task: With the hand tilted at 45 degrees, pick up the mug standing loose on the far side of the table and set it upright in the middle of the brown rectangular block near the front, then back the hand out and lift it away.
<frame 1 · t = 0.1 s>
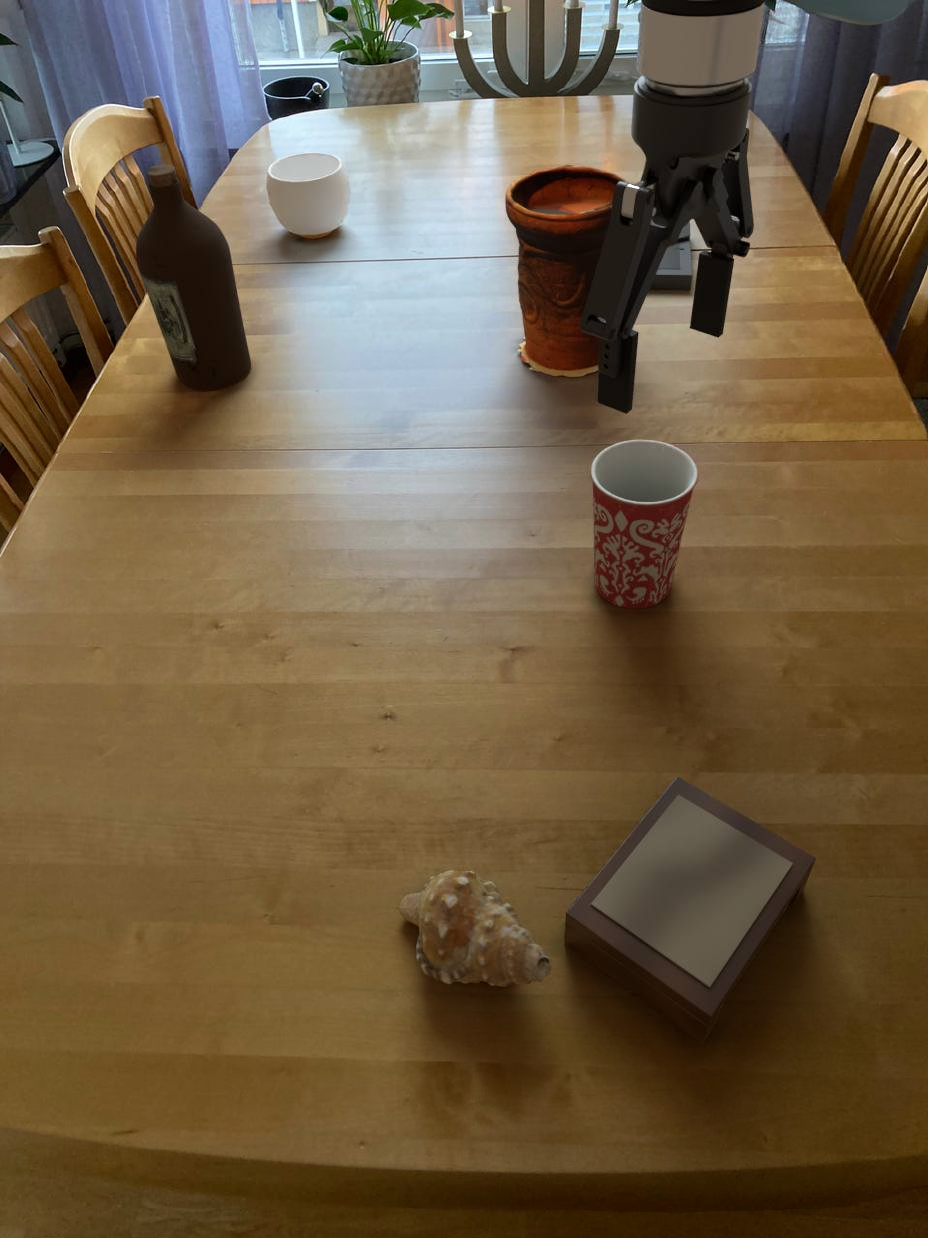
hand: (662, 367, 77), 22 cm above the table, tool pointing down, fingers open, 13 cm apart
cup: (315, 231, 150), on the table
mug: (639, 573, 93), on the table
vessel: (564, 349, 122), on the table
seashell: (477, 947, 68), on the table
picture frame: (614, 263, 138), on the table
olive oil: (214, 372, 123), on the table
brown rectangular block: (685, 916, 69), on the table
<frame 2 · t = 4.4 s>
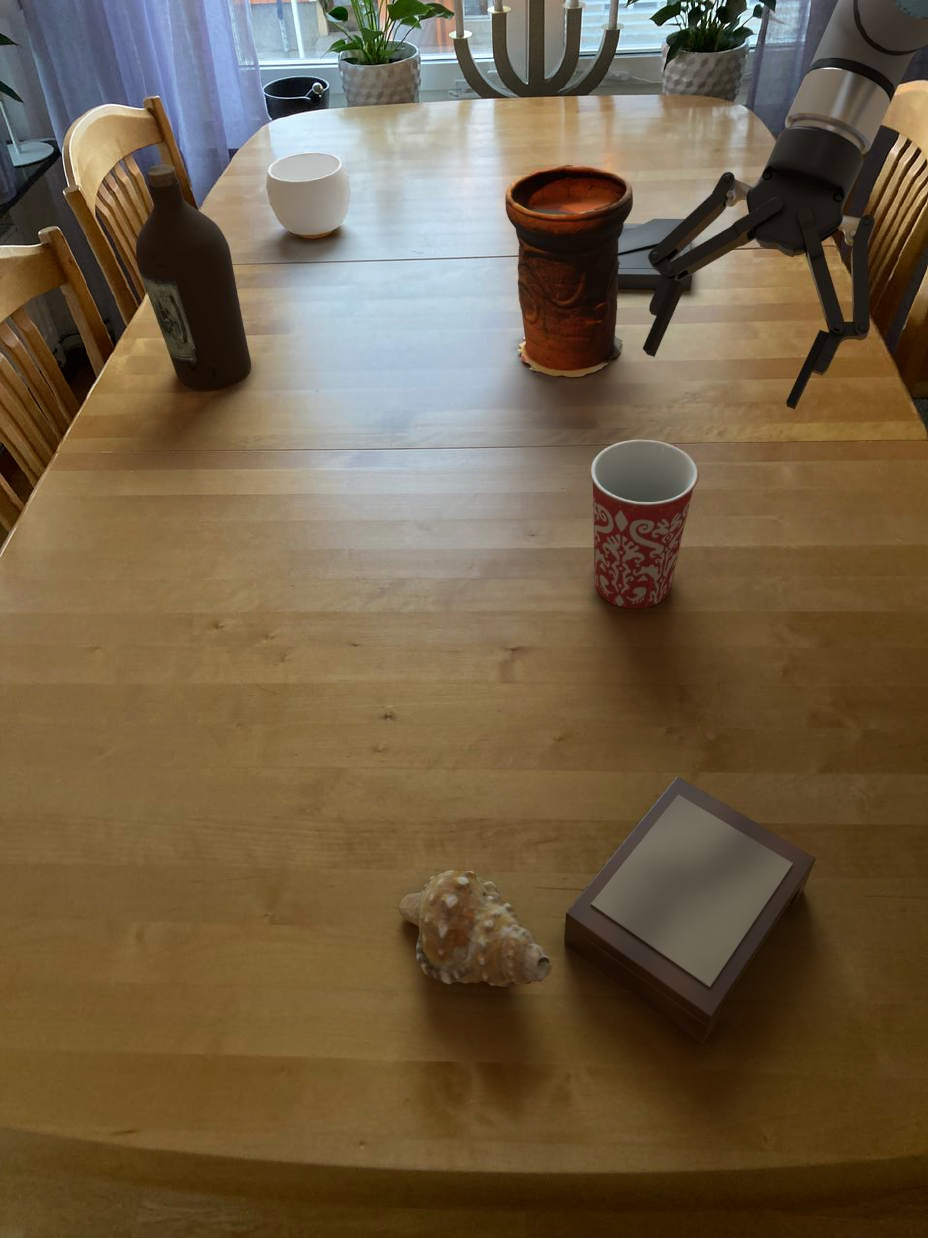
hand: (717, 379, 87), 16 cm above the table, tool tilted 40°, fingers open, 13 cm apart
nothing on the table moved.
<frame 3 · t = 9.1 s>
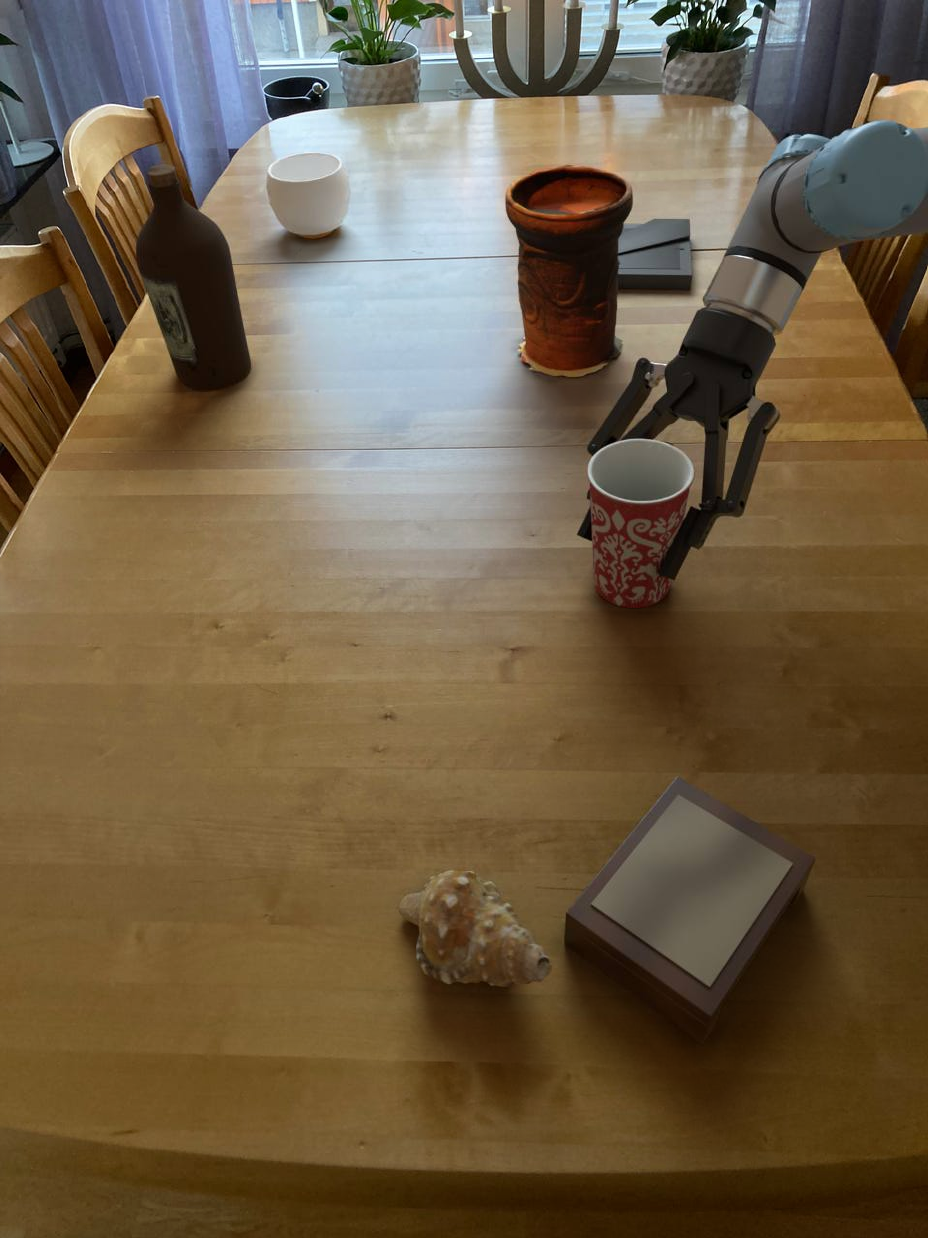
hand: (625, 557, 88), 4 cm above the table, tool tilted 45°, fingers closed on mug, 8 cm apart
mug: (639, 572, 93), on the table, touching gripper
everything else where it was.
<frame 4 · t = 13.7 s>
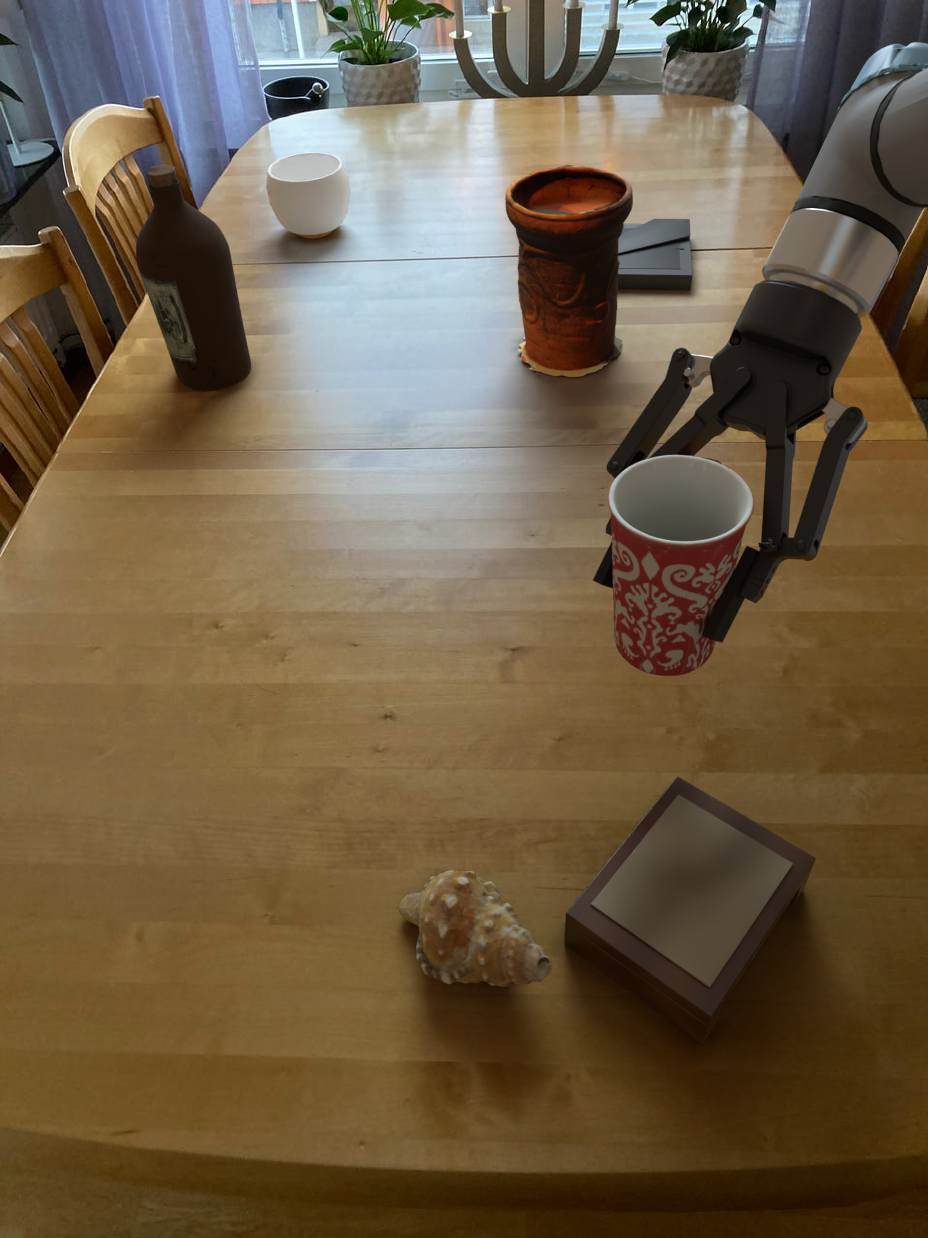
hand: (656, 610, 67), 16 cm above the table, tool tilted 45°, fingers closed on mug, 8 cm apart
mug: (672, 627, 72), point 12 cm above the table, touching gripper
everything else where it was.
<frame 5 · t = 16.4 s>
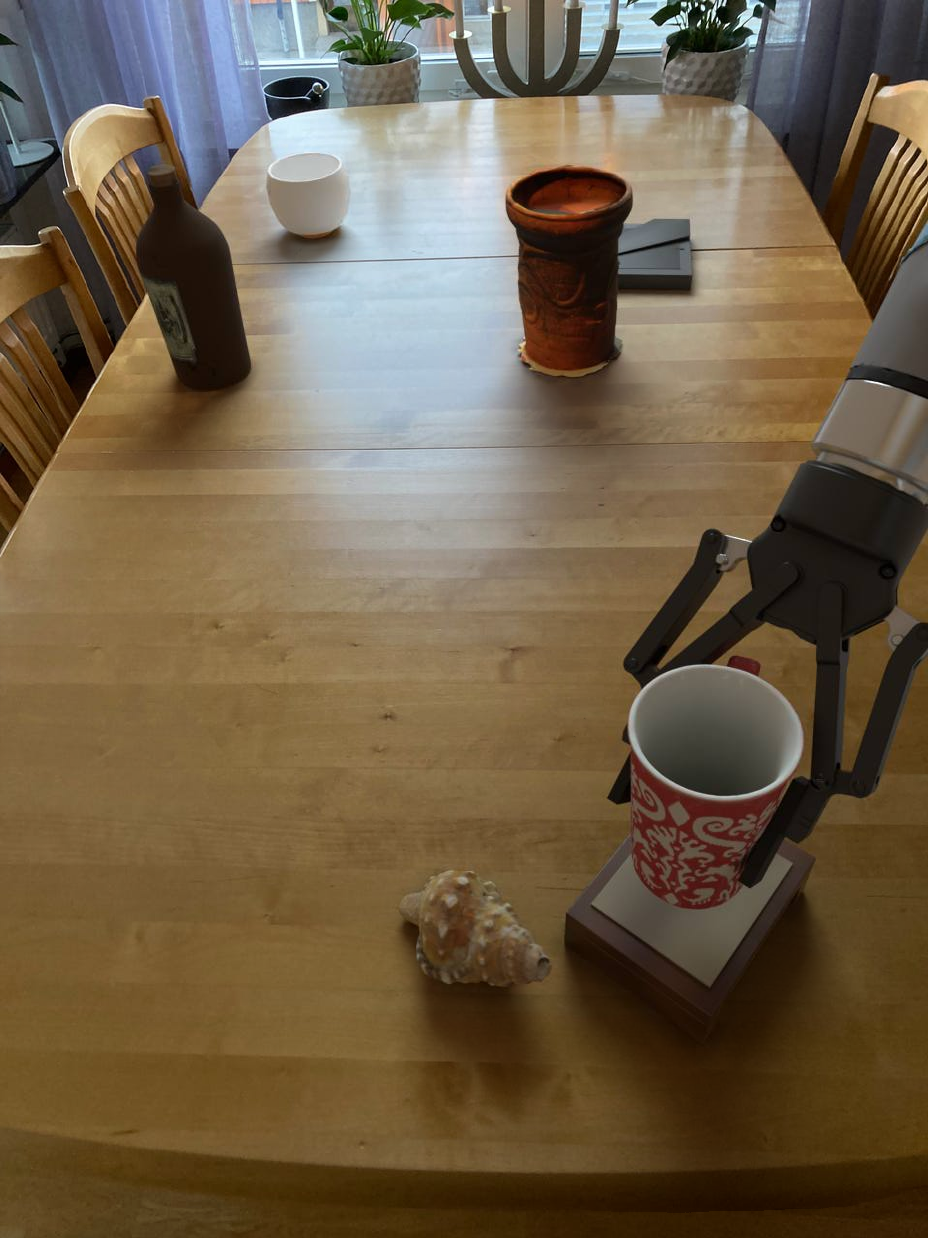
hand: (682, 838, 56), 15 cm above the table, tool tilted 45°, fingers closed on mug, 8 cm apart
mug: (699, 838, 62), point 10 cm above the table, touching gripper
everything else where it was.
when the fingers open (9 cm above the table, at t = 18.4 s): mug stays where it is, resting on brown rectangular block.
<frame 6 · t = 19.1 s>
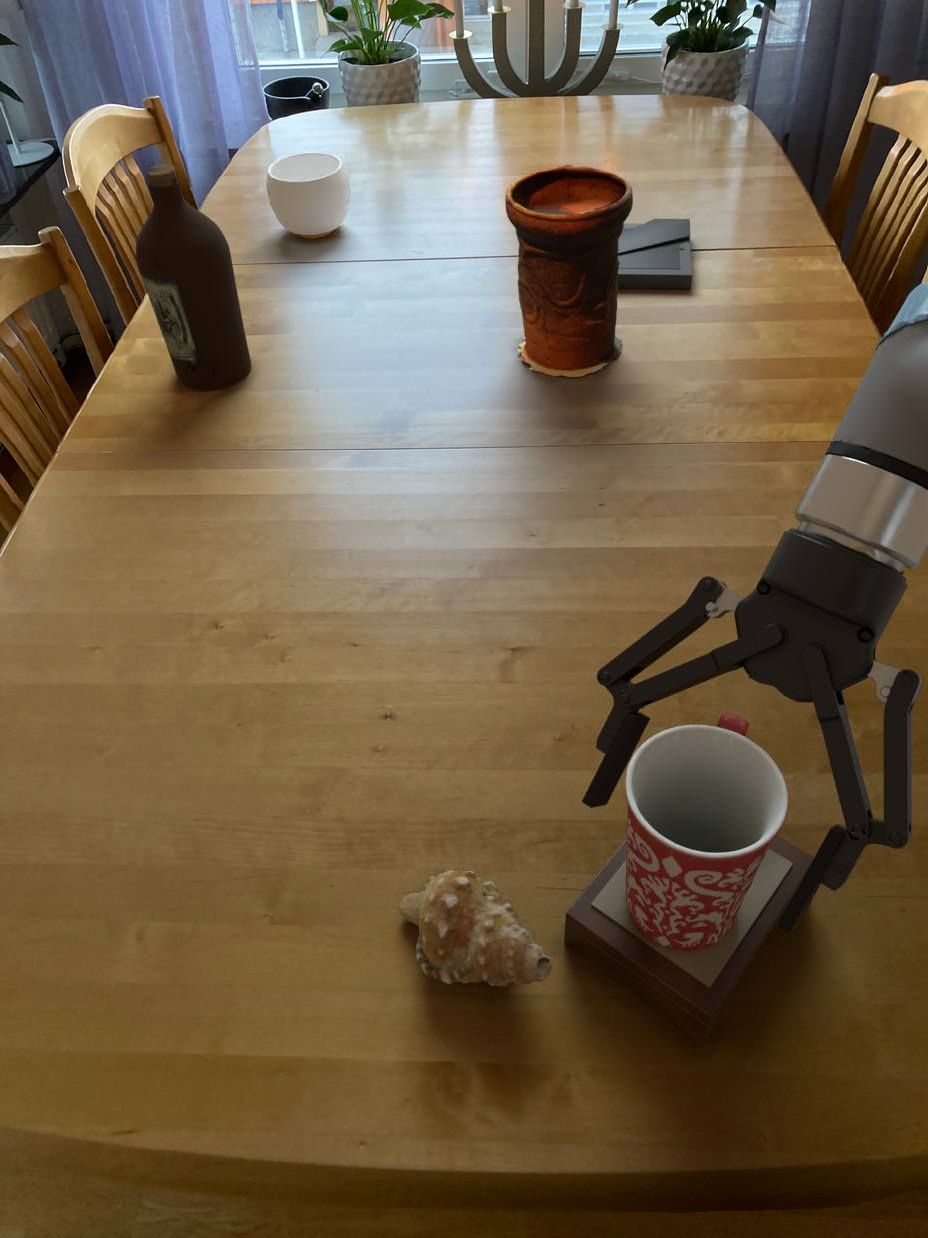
hand: (685, 862, 60), 11 cm above the table, tool tilted 45°, fingers open, 13 cm apart
mug: (689, 881, 65), point 5 cm above the table, touching brown rectangular block
everything else where it was.
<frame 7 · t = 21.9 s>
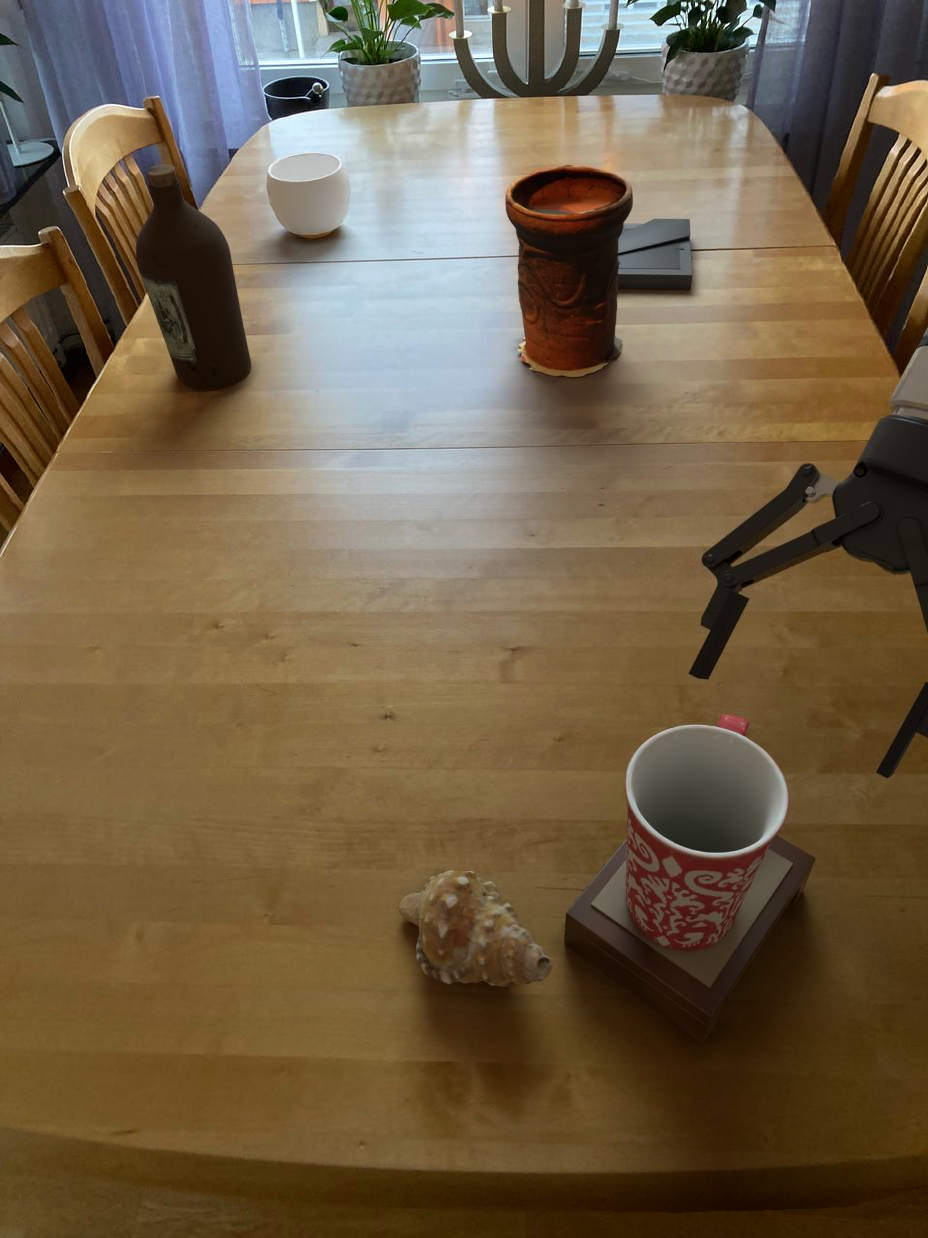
hand: (786, 723, 66), 11 cm above the table, tool tilted 45°, fingers open, 13 cm apart
nothing on the table moved.
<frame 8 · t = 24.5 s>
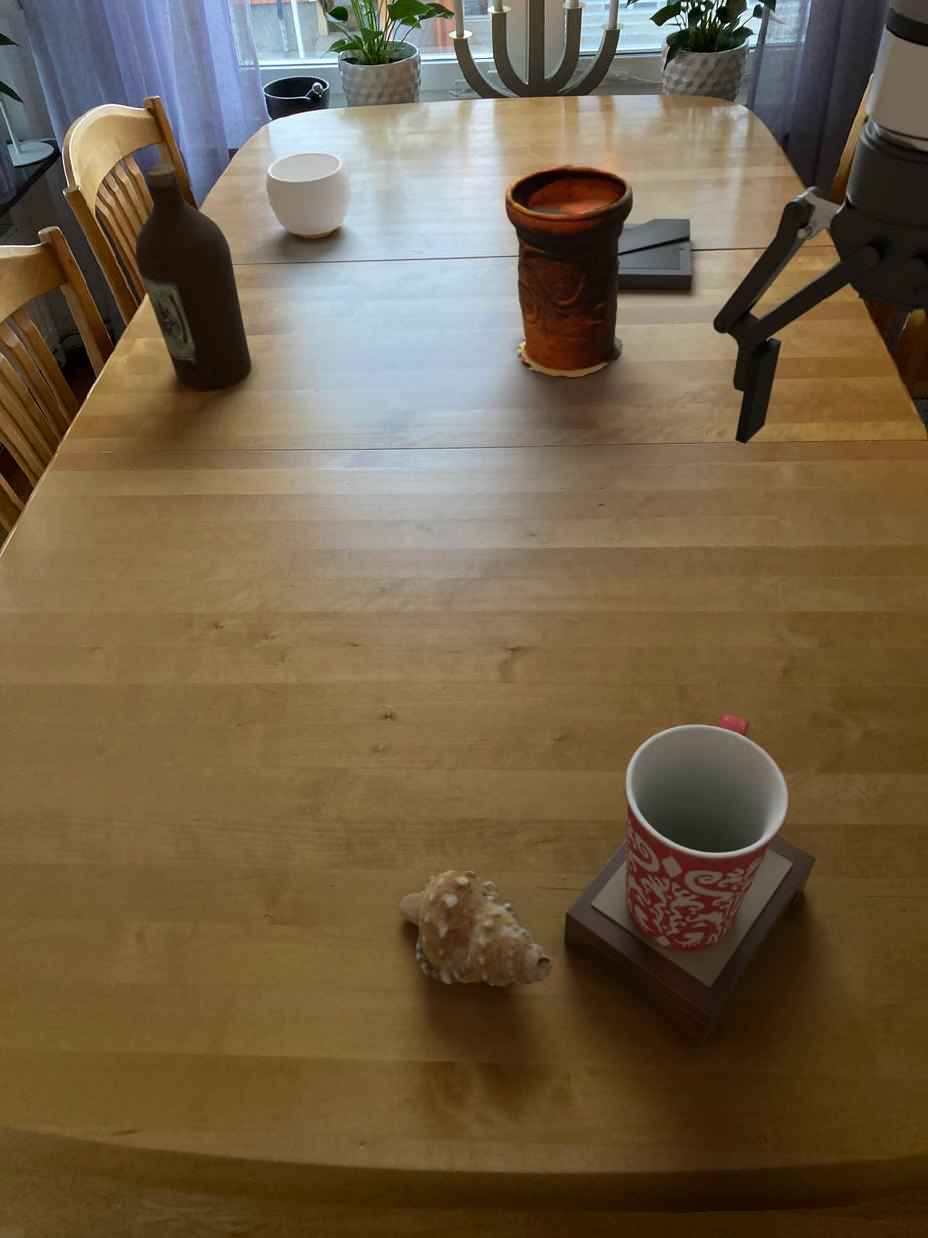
hand: (843, 469, 63), 25 cm above the table, tool pointing down, fingers open, 13 cm apart
nothing on the table moved.
at the end: mug inside the target area on the brown rectangular block (0.3 cm from its centre), point 4.5 cm above the brown rectangular block's base; mug tilted 0°; the gripper is holding nothing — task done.
